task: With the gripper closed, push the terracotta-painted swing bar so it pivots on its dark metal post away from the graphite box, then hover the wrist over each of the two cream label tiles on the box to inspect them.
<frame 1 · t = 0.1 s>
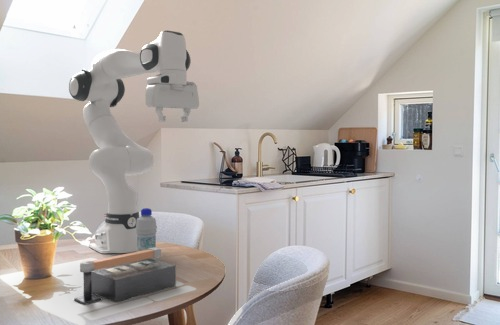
hand: (173, 121, 172), 48 cm above the table, fingers open, 8 cm apart
bottle: (146, 270, 167), on the table
pivot post: (87, 300, 137), on the table
swing arm: (121, 259, 144), point 9 cm above the table, hinge at 0.0°
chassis: (132, 288, 147), on the table
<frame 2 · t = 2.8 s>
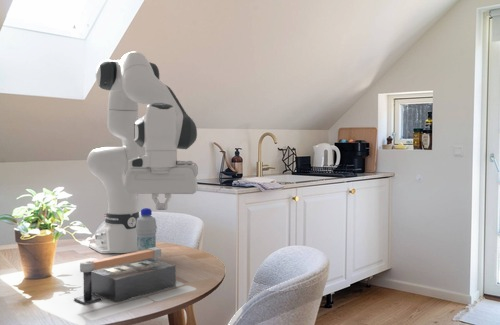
hand: (161, 209, 146), 23 cm above the table, fingers closed
nothing on the table moved.
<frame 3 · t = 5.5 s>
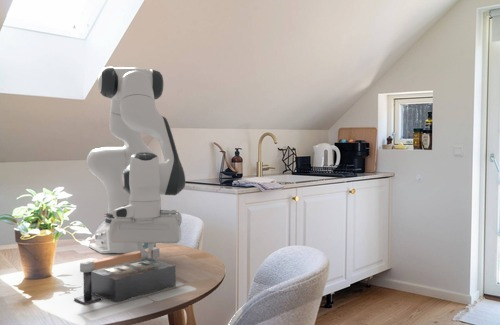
hand: (146, 258, 147), 9 cm above the table, fingers closed
swing arm: (121, 259, 144), point 9 cm above the table, hinge at 2.2°, touching gripper
everything else where it was.
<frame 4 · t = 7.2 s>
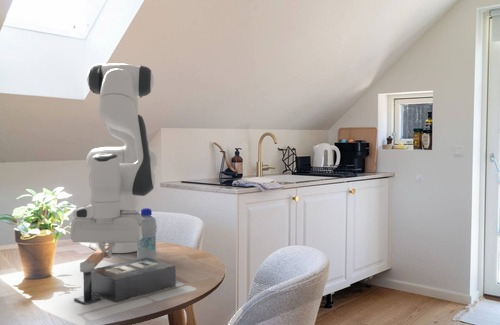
hand: (107, 257, 149), 8 cm above the table, fingers closed
swing arm: (97, 257, 147), point 9 cm above the table, hinge at 45.6°, touching gripper
everything else where it was.
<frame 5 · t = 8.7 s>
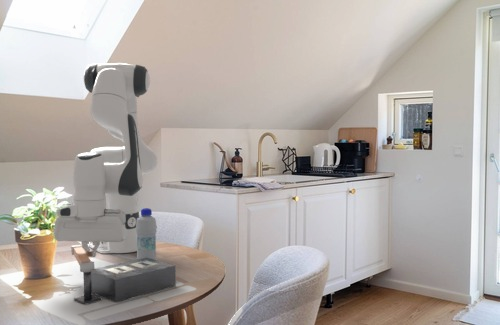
hand: (91, 256, 149), 9 cm above the table, fingers closed
swing arm: (82, 257, 146), point 9 cm above the table, hinge at 67.9°, touching gripper
everything else where it was.
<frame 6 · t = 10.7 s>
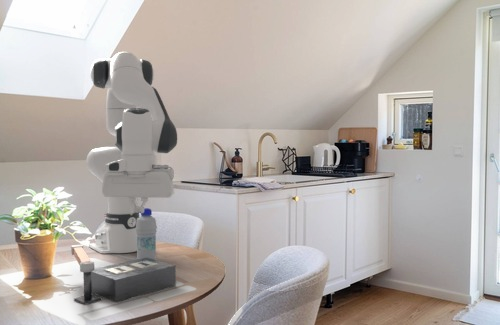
hand: (138, 212, 148), 21 cm above the table, fingers closed
swing arm: (82, 257, 146), point 9 cm above the table, hinge at 67.9°
everything else where it was.
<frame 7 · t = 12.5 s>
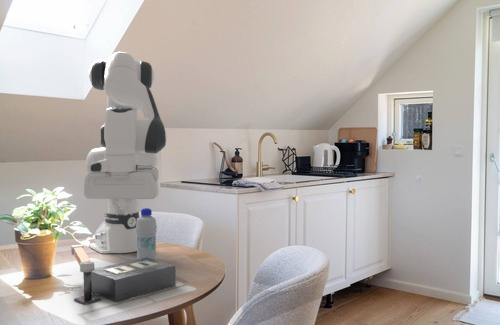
hand: (121, 215, 143), 22 cm above the table, fingers closed
nothing on the table moved.
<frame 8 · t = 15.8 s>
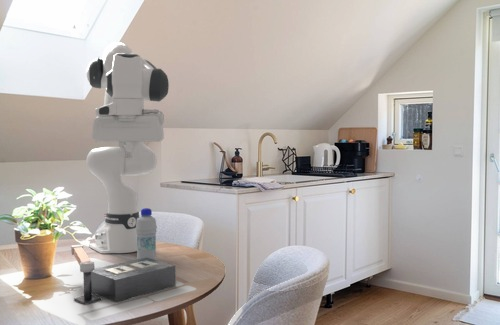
hand: (128, 157, 149), 37 cm above the table, fingers closed
nothing on the table moved.
at the end: swing arm at +68° (first picture: +0°); bottle moved 0.2 cm from its start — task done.
